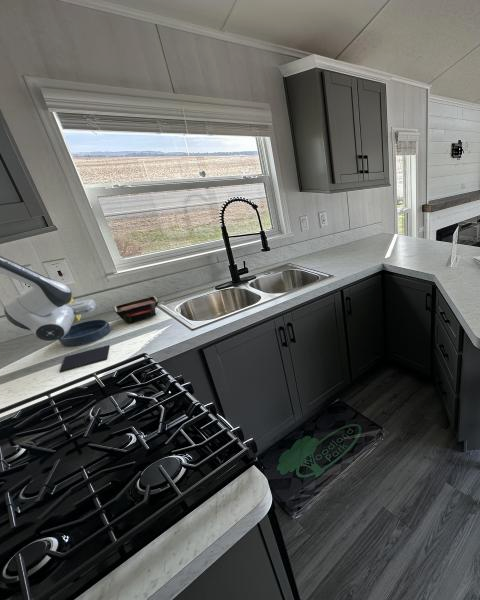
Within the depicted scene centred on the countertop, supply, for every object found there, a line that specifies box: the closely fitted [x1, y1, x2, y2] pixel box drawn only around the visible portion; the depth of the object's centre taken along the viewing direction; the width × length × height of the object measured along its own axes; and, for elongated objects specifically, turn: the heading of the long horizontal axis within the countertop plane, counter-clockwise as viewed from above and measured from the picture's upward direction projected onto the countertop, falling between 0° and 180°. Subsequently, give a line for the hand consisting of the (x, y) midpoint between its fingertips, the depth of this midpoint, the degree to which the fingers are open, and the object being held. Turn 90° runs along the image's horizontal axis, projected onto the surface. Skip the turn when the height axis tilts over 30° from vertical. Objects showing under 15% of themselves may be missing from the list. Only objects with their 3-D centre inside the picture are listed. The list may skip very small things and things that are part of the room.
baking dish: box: [113, 295, 159, 325], centre depth 163 cm, size 14×18×10 cm
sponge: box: [67, 296, 82, 324], centre depth 139 cm, size 4×7×12 cm, turn 35°
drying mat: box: [59, 344, 111, 373], centre depth 131 cm, size 14×12×1 cm
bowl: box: [57, 318, 112, 347], centre depth 146 cm, size 17×17×4 cm
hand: (66, 304), depth 139 cm, fingers closed on sponge, 4 cm apart
